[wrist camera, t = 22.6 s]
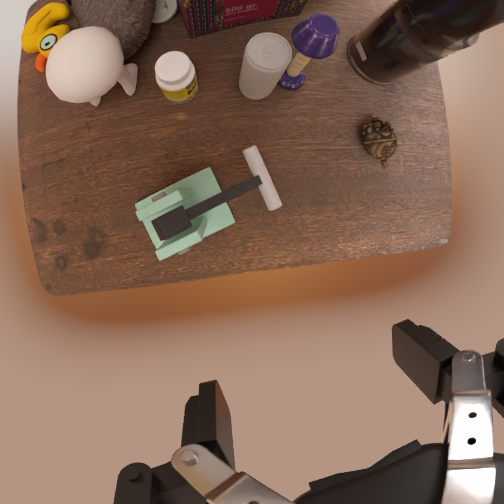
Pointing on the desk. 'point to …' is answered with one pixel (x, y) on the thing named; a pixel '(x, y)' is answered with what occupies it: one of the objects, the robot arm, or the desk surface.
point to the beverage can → (263, 64)
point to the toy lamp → (310, 47)
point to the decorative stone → (118, 19)
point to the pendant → (380, 139)
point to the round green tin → (164, 10)
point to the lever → (220, 199)
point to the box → (233, 13)
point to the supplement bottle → (176, 77)
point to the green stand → (186, 195)
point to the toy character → (88, 66)
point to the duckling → (45, 32)
